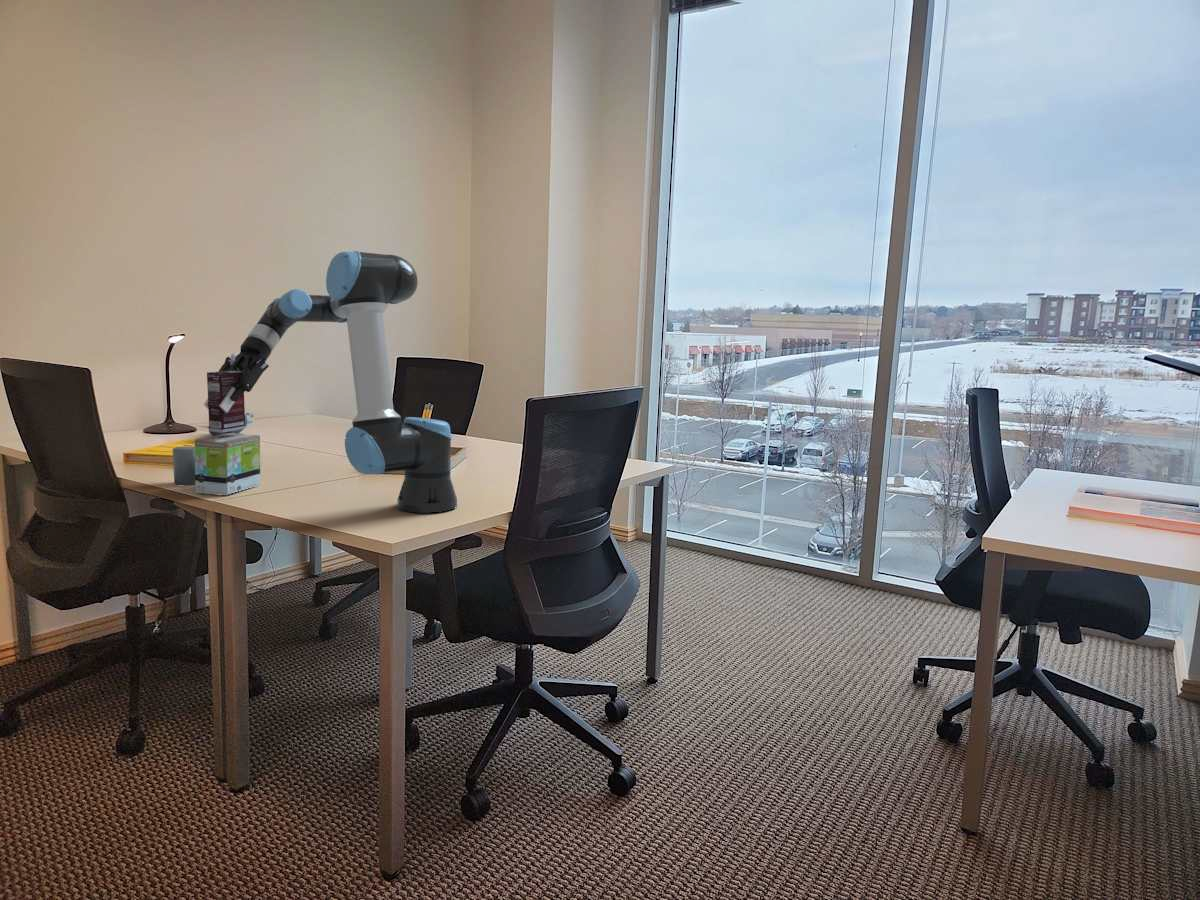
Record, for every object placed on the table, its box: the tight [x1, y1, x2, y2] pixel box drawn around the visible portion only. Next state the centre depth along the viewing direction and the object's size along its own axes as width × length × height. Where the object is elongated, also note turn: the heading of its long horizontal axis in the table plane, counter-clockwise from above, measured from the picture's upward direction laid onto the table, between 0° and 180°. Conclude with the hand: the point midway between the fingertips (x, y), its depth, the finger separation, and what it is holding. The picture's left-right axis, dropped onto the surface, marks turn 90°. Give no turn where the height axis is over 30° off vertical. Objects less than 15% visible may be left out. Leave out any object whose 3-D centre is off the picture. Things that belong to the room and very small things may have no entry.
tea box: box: [194, 433, 261, 496], centre depth 227 cm, size 15×10×15 cm
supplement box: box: [206, 371, 246, 433], centre depth 224 cm, size 9×5×16 cm, turn 160°
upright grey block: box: [172, 445, 196, 487], centre depth 232 cm, size 7×7×10 cm
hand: (215, 408), depth 221 cm, fingers closed on supplement box, 5 cm apart
